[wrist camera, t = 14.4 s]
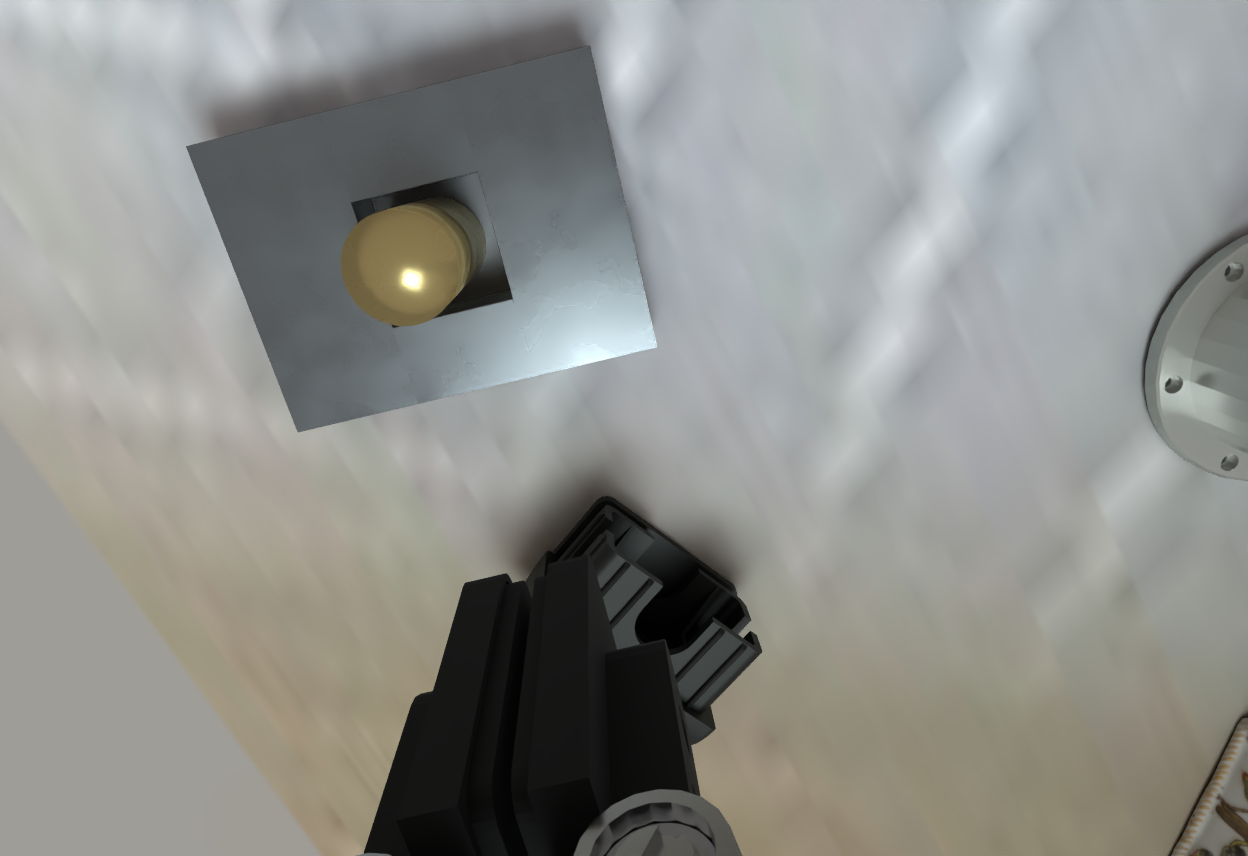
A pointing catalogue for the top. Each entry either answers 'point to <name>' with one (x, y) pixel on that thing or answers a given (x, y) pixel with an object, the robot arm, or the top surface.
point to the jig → (413, 157)
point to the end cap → (663, 604)
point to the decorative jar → (1222, 806)
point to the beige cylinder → (412, 259)
